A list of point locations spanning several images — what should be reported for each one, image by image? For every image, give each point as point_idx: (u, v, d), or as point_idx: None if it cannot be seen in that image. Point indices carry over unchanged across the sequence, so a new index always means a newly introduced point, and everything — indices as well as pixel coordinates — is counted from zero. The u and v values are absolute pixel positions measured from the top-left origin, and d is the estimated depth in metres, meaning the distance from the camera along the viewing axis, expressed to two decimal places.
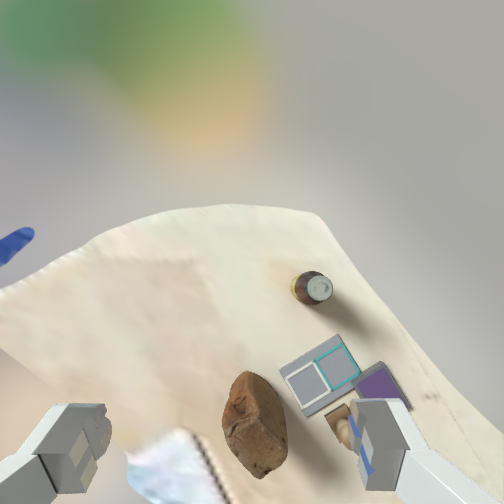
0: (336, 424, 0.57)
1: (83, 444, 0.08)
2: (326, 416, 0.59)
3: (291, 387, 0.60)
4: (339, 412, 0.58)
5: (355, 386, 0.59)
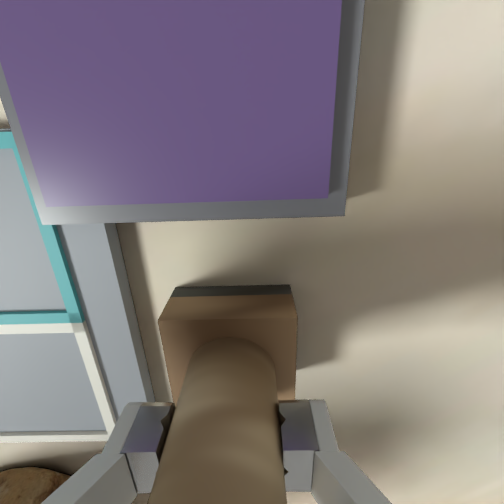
0: None
1: (163, 443, 0.08)
2: None
3: (23, 435, 0.14)
4: None
5: (67, 215, 0.09)
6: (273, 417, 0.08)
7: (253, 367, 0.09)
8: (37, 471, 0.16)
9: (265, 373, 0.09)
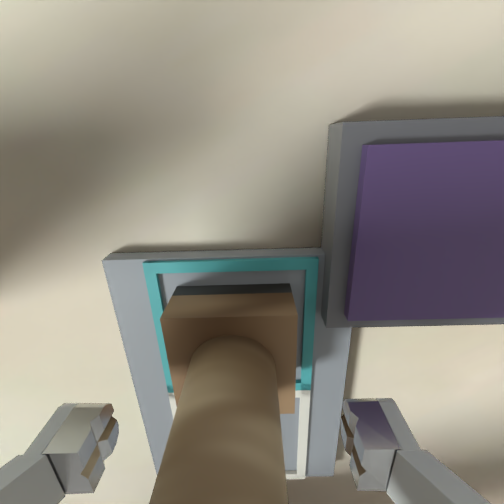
0: None
1: (91, 444, 0.08)
2: None
3: None
4: None
5: (349, 322, 0.12)
6: (274, 413, 0.08)
7: (254, 364, 0.09)
8: None
9: (266, 370, 0.10)
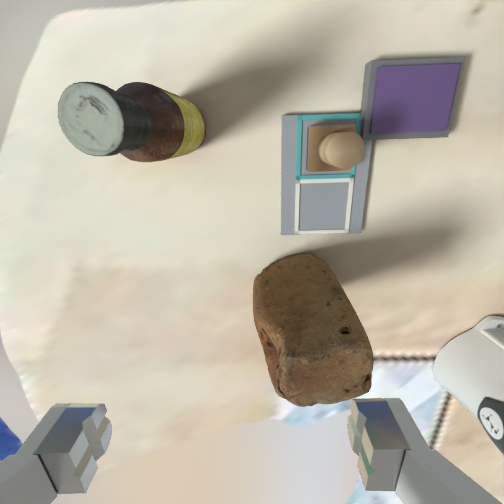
0: (321, 160, 0.32)
1: (83, 444, 0.08)
2: (307, 167, 0.35)
3: (312, 231, 0.38)
4: (310, 144, 0.32)
5: (371, 137, 0.33)
6: None
7: None
8: None
9: None
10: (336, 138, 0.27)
